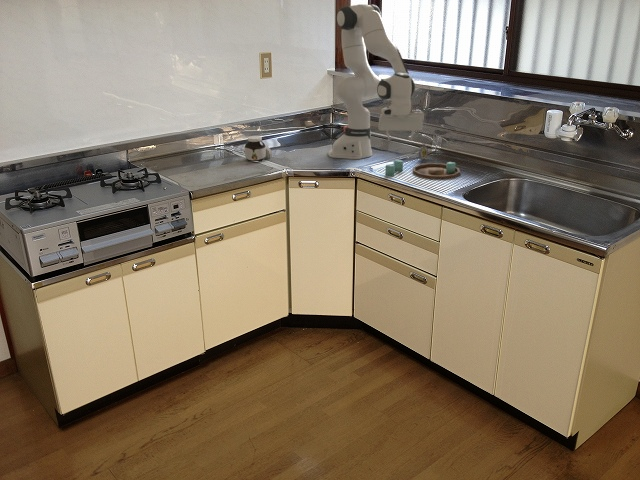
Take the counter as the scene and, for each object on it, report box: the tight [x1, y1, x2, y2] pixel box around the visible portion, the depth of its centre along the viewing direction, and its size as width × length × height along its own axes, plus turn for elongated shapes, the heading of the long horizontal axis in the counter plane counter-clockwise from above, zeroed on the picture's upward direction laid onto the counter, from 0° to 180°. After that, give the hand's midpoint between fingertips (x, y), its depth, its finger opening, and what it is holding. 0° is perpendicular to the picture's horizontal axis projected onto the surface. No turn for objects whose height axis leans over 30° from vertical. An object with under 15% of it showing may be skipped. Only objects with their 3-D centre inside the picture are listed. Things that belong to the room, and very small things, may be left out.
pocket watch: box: [418, 141, 437, 164], centre depth 302 cm, size 8×8×10 cm
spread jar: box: [244, 135, 273, 162], centre depth 309 cm, size 12×11×12 cm
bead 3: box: [446, 161, 457, 174], centre depth 284 cm, size 4×4×4 cm
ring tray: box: [412, 162, 461, 180], centre depth 285 cm, size 21×21×2 cm
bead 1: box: [384, 164, 395, 177], centre depth 284 cm, size 4×4×4 cm
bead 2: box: [393, 159, 404, 173], centre depth 291 cm, size 4×4×4 cm
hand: (399, 140), depth 286 cm, fingers open, 8 cm apart
